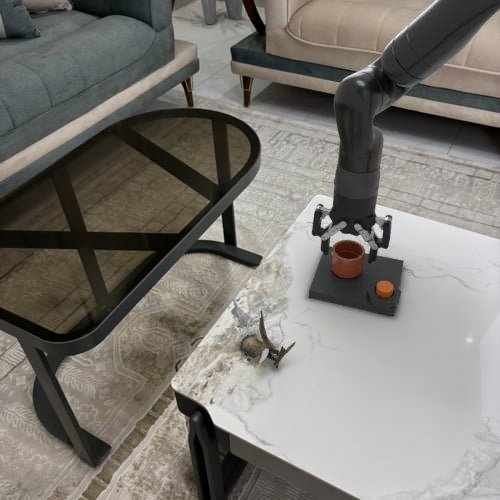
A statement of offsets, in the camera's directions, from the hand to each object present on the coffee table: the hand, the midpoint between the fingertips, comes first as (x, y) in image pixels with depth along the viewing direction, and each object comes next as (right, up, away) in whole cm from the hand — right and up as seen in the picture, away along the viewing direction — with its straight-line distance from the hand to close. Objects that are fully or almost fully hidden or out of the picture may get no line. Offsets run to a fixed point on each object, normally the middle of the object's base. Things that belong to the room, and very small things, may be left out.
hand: (347, 256), depth 96 cm
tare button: (+6, -7, -5) cm, 10 cm away
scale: (+2, -5, +2) cm, 6 cm away
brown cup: (0, -3, +2) cm, 4 cm away
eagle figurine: (-16, -17, -10) cm, 25 cm away
